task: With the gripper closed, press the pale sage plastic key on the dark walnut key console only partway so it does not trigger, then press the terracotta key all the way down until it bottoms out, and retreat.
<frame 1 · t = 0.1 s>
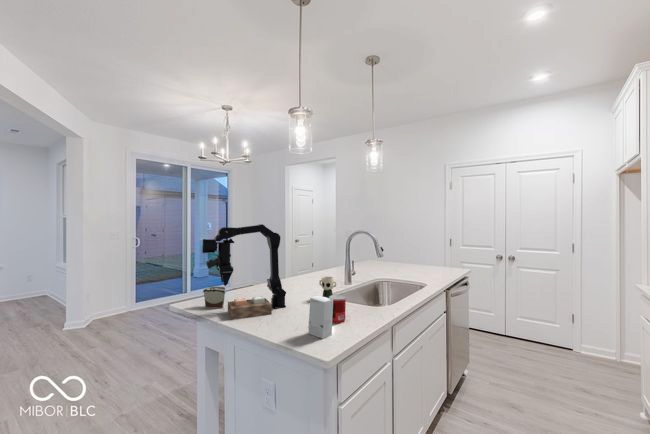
hand: (224, 283, 148), 15 cm above the worktop, fingers open, 9 cm apart
sage key: (258, 301, 151), point 5 cm above the worktop, slide at 0.0 cm
terracotta key: (240, 303, 147), point 5 cm above the worktop, slide at 0.0 cm
skincare box: (320, 335, 122), on the worktop
key console: (249, 313, 149), on the worktop
food container: (216, 306, 160), on the worktop
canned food: (337, 321, 138), on the worktop
character mug: (327, 300, 174), on the worktop
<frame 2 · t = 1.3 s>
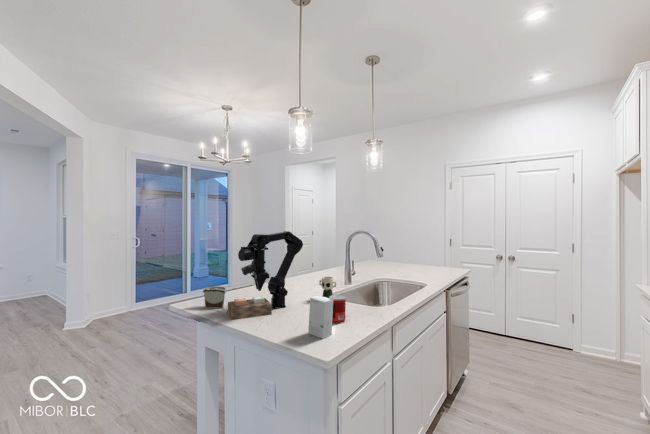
hand: (258, 290, 151), 11 cm above the worktop, fingers open, 4 cm apart
nothing on the worktop moved.
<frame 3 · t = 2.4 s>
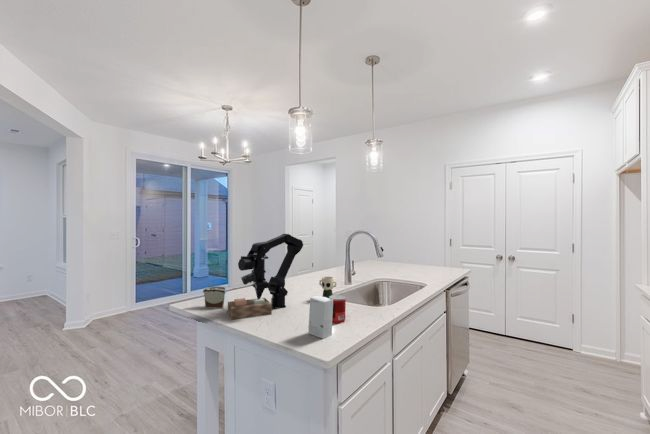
hand: (258, 299, 151), 6 cm above the worktop, fingers closed, pressing on sage key
sage key: (258, 302, 151), point 5 cm above the worktop, slide at 0.7 cm, touching gripper
everything else where it was.
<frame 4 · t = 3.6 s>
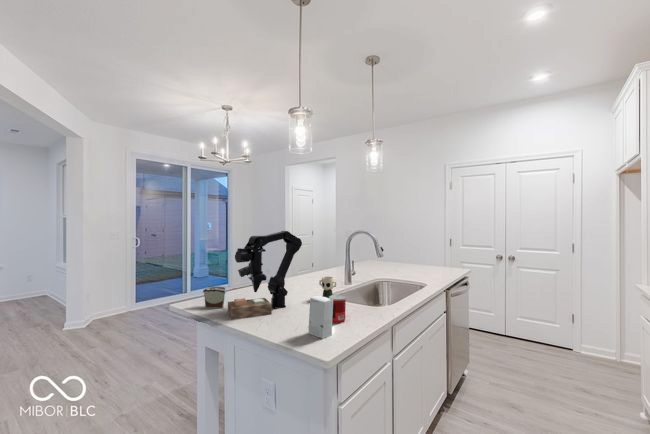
hand: (255, 292, 150), 10 cm above the worktop, fingers closed
sage key: (258, 303, 151), point 4 cm above the worktop, slide at 1.1 cm
everything else where it was.
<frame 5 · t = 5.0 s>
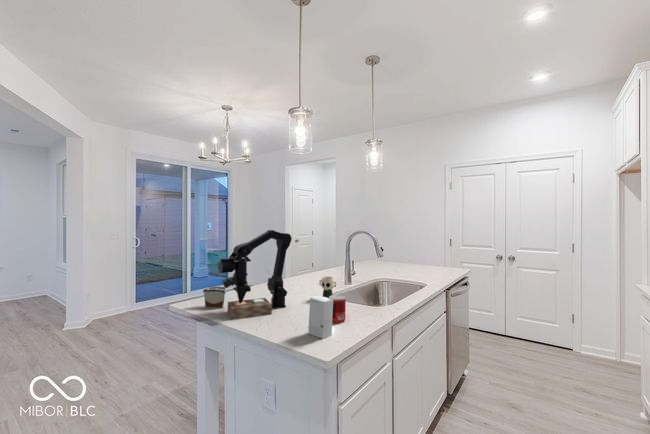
hand: (240, 302, 147), 6 cm above the worktop, fingers closed, pressing on terracotta key
terracotta key: (240, 306, 147), point 4 cm above the worktop, slide at 1.6 cm, touching gripper
everything else where it was.
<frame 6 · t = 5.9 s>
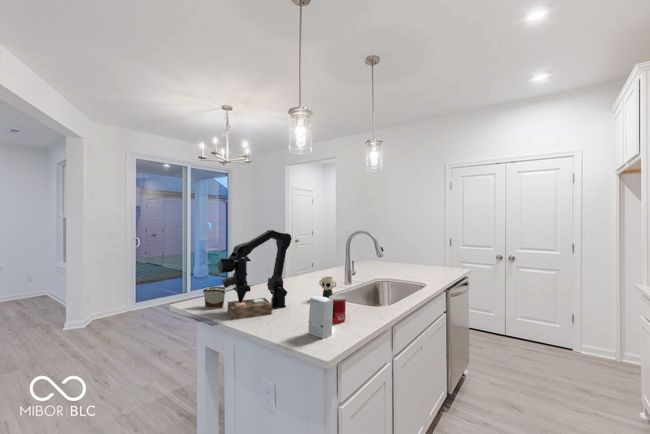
hand: (240, 302, 147), 6 cm above the worktop, fingers closed
terracotta key: (240, 307, 147), point 3 cm above the worktop, slide at 1.9 cm
everything else where it was.
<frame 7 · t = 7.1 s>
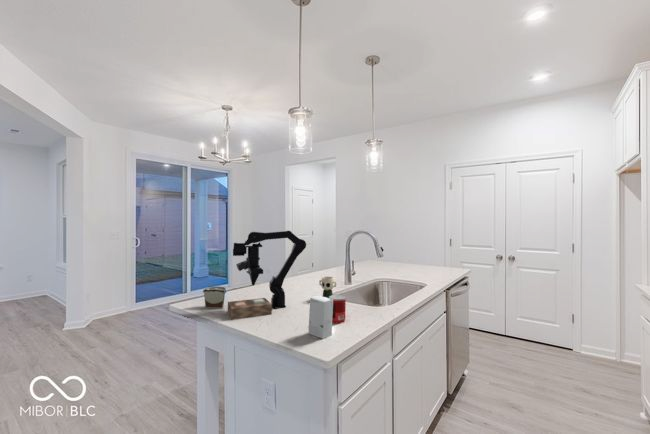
hand: (253, 285, 157), 12 cm above the worktop, fingers closed
nothing on the worktop moved.
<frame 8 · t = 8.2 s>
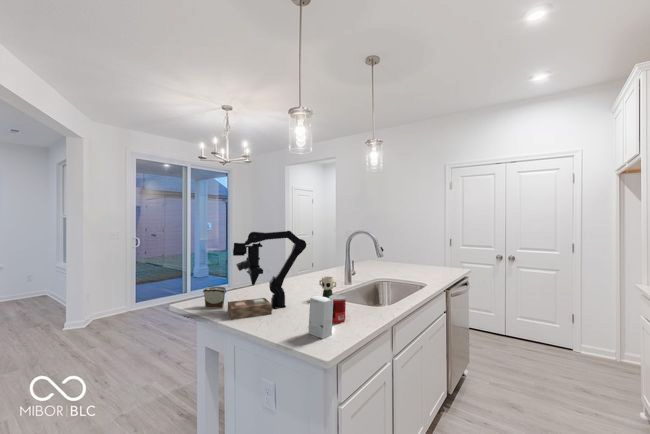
hand: (253, 285, 157), 12 cm above the worktop, fingers closed
nothing on the worktop moved.
at the end: sage key slide at 1.1 cm; terracotta key slide at 1.9 cm; food container moved 0.2 cm from its start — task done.
